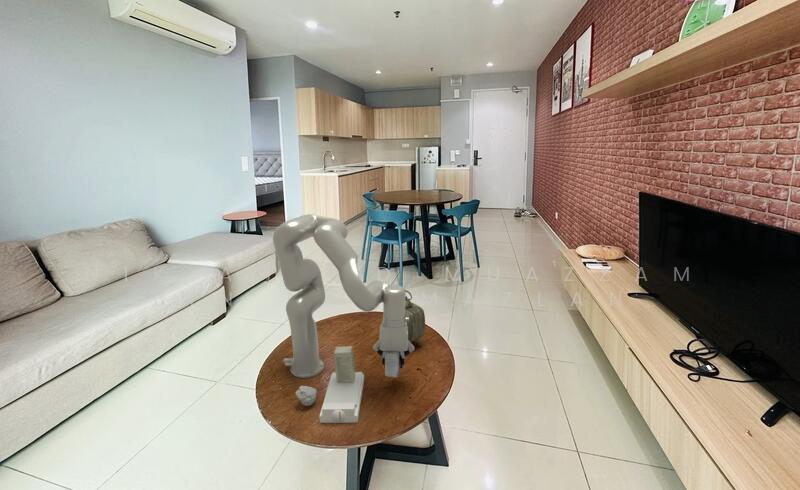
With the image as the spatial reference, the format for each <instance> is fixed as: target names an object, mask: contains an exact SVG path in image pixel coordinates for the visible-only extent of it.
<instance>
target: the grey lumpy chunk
mask: <svg viewBox="0 0 800 490" xmlns="http://www.w3.org/2000/svg"><path fill="white" fill-rule="evenodd" d="M317 393H318V390H317V389H316V388H315V387H312V386H309V385H308V386H307V385H304V384H303V385H300V386H299V388H298V389H297V390H296V391H295V395H296V398H297V399H299V401H300V402H301V404H302V405H303V406H306V407H310V406H312V405H313V404H314V403H315V401H316V399H317Z"/></svg>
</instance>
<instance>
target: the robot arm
mask: <svg viewBox="0 0 800 490" xmlns="http://www.w3.org/2000/svg"><path fill="white" fill-rule="evenodd" d="M348 233H349V232H348V228H347V226H346V224H345V223H344V222H343V221H342V220H339V219H337V218H332V217H327V216H322V215H316V214H311V213H310V214H303V215H300V216H298V217H294V218H292V219H289V220H287V221H285V222H282V223H280V225H279V226H278V227H277V228H276V229H275V230H274V232H273V235H272V236H273V237H272V242H273V247H274V248H275V249H274V250H275V252H276V255H277V258H278V262H279V268H280V272H281V275H282V280H283V284H284V286H285V289H287V290H288V291H290V292H292V293H293V292H297V293H295V294H294V295H292V296H291V297H290V298H289V299H288V301H287V303H286V305H285V311H286V315H287V318H288V322H289V328H290V335H291V345H292V352H293V353H292V355H293V356H292V357H291V358H289V357H288V358H287V357H285V358H283V364H284V366H285V367H290V372H291V375H292V376H295V377H296V378H301V379H302V378H303V379H307V378H311V377H314V376H316V375H318V374H320V373H321V372H322V371H323V370H324V366H325V365H324V361H323V360H322V359H321V358H320V355H319V353H320V352H319V341H318V328H317V324H316V321H315V319H314V317H313V314H314V312H316V311H317V310H318V309H319V308H321V307H322V305H324V303H325V301H326V292H325V286H324V282H323V278H322V272H321V269H320V266H319V265H318V263H316V261H315V260H312V259H310V258H304V257H303V252H302V250H301V248H300V247H299V246H298V244H299V243H301V242H303V241H305V240H308V239H310V238H312V237H313V240H314V242H315V244H316V245H317V246H318V247H319V248H320V249H321V251H322V252H323V254H325V255H326V256H325V257H327V258H328V259H329V260H330V262H331V263H332V264H333V266H335V268H336V269H337V271H338V275H339V279H340V282H341V285H342V288H343V291H344V292H345V294H346V296H347V297H348V299H350V300H351V302H352V303H353V304H354V306H356V307H357V308H358V309H359V310H361V311H363V312H366V313H367V312H371V311H374V310H375V309H376V308H378V306H379V305H380V304H381V303H383V305H382V306H383V310H382V311H383V312H382V313H383V314H382V317H383V319H382V321H381V323H380V328H379V339H378V340H377V341H376V342H375V343H374V345H373V346H372V350H373V351H375V352H376V353H377V354H378V355H379V356H380V357H381V361H382V363H381V364H382V365H384V367H383V369H385V355H386V352H387V351H397V352H400V353H401V355H400V369H403V366H405V359H406V358H407V356H408V355H409V354H410V353H412V352H413V351H414V350H415V346H414V345H413V344H412V342H410V341H409V340H408V327H407V323H406V322H407V321H409V318H407V317H406V316H405V297H406V296H407V295H406V293H407V292H405V290H406V289H405V287H404V286H402V285H398V284H389V283H386V282H384V281H380V280H372V281H370V282H368V284H367V285H365V284H364V282H363V281H362V279H361V278H360V275H359V272H358V259H359V256H358V253H357V252H356V251H355V250H354V248H353V247H352V246H351V245H350V243H349V242H348V241H347V239H346V238H347V237H348Z"/></svg>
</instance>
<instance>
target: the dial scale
mask: <svg viewBox="0 0 800 490" xmlns="http://www.w3.org/2000/svg"><path fill="white" fill-rule="evenodd" d="M331 373H332V374H331V375H330V379H329V382H328V385H327V389H326V392H325V396H324V399H323V402H322V403H323V404H322V406H321V410H320V412H319V413H320V414H319V424H330V423H331V424H336V423H338V424H339V423H340V424H341V423H343V424H344V423H347V424H348V423H350V424H351V423H359V418H360V417H359V416H360V412H361V411H360V410H361V403H362V397H363V390H364V384H365V383H364V382H365V374H363V372H362V371H355V379H354V382H351V383H337V379H336V371H334V372H331Z"/></svg>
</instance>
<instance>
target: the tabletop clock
mask: <svg viewBox="0 0 800 490" xmlns="http://www.w3.org/2000/svg"><path fill="white" fill-rule="evenodd" d="M405 292H406V293H408V294H409V296H410V298H409V297H408V296H407V295H406V297H405V316H406V317H407V318H409V321H407V322H406V323H407V327H408V340H409V341H410V343H412V342H414V341H416V343H417V346H418V347H420V346H421V345H422V343H421V342H419V340H418V339H419V338H422V337H424V335H425V332H426V315H425V311H424V309H423V308H422V306H420V305H418V304H416V303H414V302H412V301H411V300H412V299H413V296H412V293H411V292H410V291H409V290H407V289H405Z"/></svg>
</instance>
